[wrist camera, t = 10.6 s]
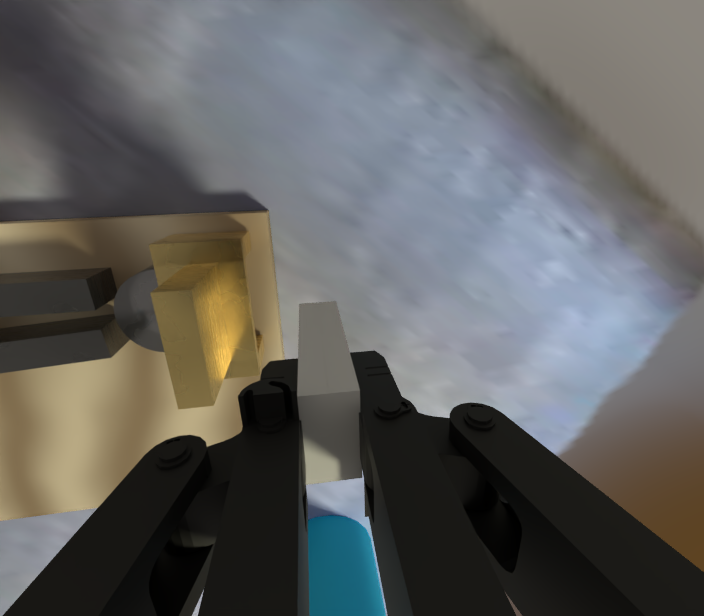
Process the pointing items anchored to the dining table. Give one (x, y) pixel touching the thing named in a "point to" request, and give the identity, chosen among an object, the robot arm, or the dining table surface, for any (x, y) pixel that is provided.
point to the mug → (342, 569)
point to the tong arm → (60, 343)
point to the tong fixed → (86, 298)
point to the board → (110, 366)
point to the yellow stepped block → (205, 313)
